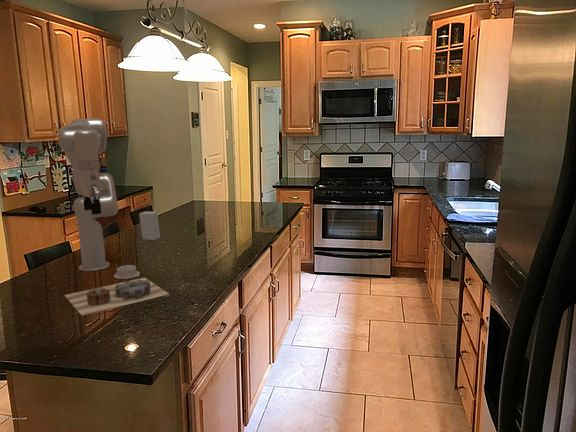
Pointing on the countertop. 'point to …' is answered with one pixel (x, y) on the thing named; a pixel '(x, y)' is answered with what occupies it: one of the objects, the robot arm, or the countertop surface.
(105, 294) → the walnut gear
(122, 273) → the mechanical component
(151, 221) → the skincare box
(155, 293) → the gear board
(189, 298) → the countertop surface
